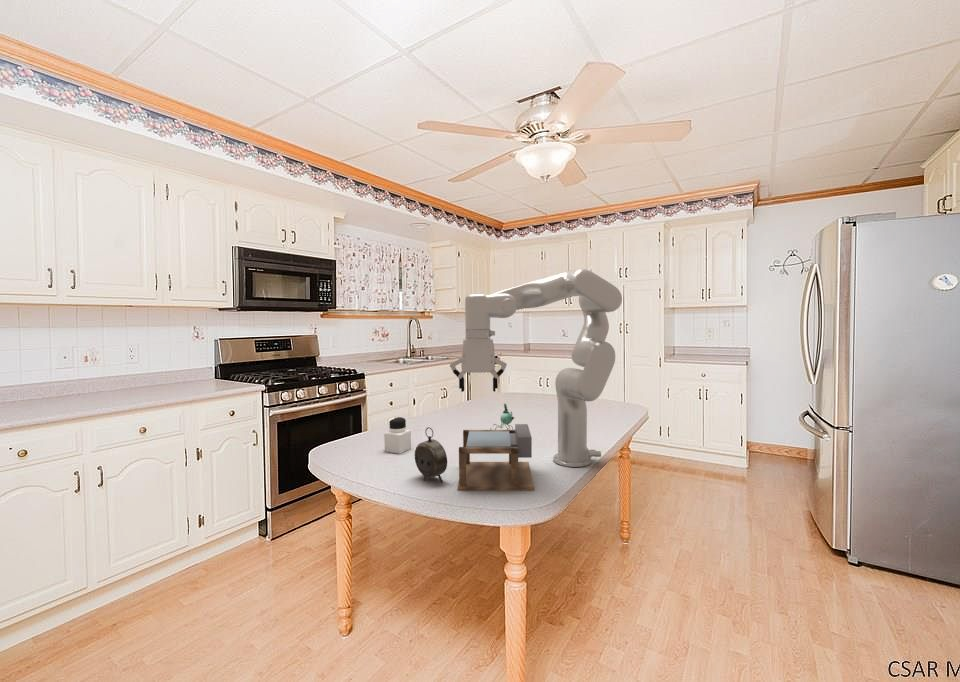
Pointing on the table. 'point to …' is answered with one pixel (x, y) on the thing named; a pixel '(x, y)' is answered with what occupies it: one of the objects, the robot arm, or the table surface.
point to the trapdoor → (504, 439)
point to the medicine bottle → (397, 436)
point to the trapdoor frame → (492, 469)
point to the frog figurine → (505, 418)
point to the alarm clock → (431, 458)
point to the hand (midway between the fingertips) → (478, 390)
